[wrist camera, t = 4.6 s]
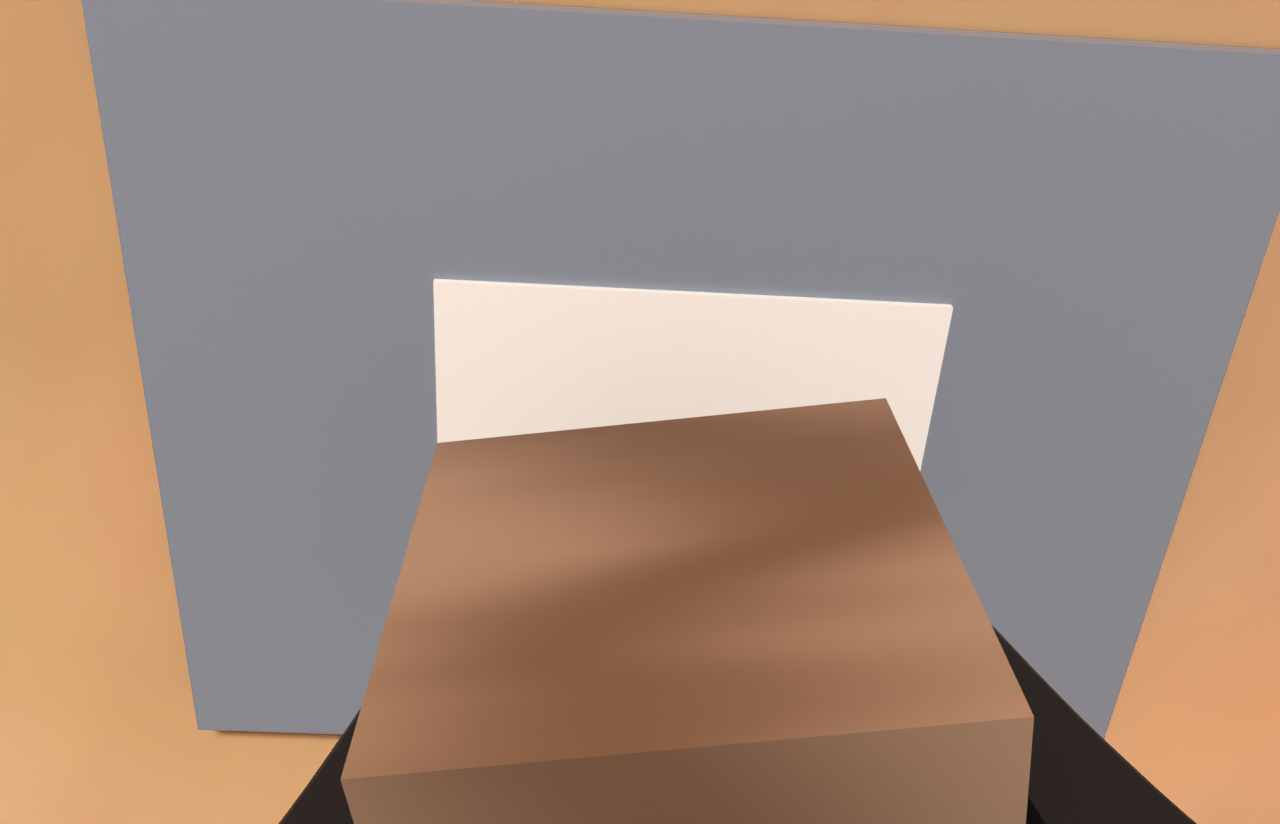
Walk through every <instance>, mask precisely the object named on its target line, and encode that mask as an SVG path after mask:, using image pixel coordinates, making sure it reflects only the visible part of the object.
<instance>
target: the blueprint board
mask: <svg viewBox="0 0 1280 824" xmlns="http://www.w3.org/2000/svg"><path fill="white" fill-rule="evenodd" d="M82 6H83V13H84V19H85V25H86V31H87V38H88V44H89V50H90V56H91V63H92V69H93V75H94V81H95V88H96V94H97V100H98V106H99V113H100V119H101V125H102V131H103V138H104V144H105V150H106V156H107V163H108V169H109V175H110V181H111V188H112V194H113V200H114V206H115V213H116V219H117V225H118V231H119V238H120V244H121V250H122V256H123V263H124V269H125V275H126V281H127V288H128V294H129V300H130V306H131V313H132V319H133V325H134V331H135V338H136V344H137V350H138V356H139V363H140V369H141V375H142V381H143V388H144V394H145V400H146V406H147V413H148V419H149V425H150V431H151V438H152V444H153V450H154V456H155V463H156V469H157V475H158V481H159V488H160V494H161V500H162V506H163V513H164V519H165V525H166V531H167V538H168V544H169V550H170V556H171V563H172V569H173V575H174V581H175V588H176V594H177V600H178V606H179V613H180V619H181V625H182V631H183V638H184V644H185V650H186V656H187V663H188V669H189V675H190V681H191V688H192V694H193V700H194V706H195V713H196V719H197V725H198V730H223V731H254V732H284V733H315V734H343V733H344V732H345V730H346V729H347V727H348V726H349V724H350V723H351V721H352V720H353V719H354V717H355V716H356V714H357V713H358V711H359V710H360V708H361V706H362V703H363V699H364V696H365V692H366V689H367V685H368V682H369V678H370V675H371V671H372V668H373V665H374V661H375V658H376V654H377V651H378V647H379V644H380V640H381V637H382V633H383V630H384V626H385V623H386V619H387V616H388V612H389V609H390V605H391V602H392V598H393V595H394V591H395V588H396V584H397V581H398V578H399V574H400V571H401V567H402V564H403V560H404V557H405V553H406V550H407V546H408V543H409V539H410V536H411V532H412V529H413V525H414V522H415V518H416V515H417V511H418V508H419V504H420V501H421V498H422V494H423V491H424V487H425V484H426V480H427V477H428V473H429V470H430V466H431V463H432V459H433V456H434V452H435V449H436V445H437V443H442V442H452V441H462V440H472V439H482V438H492V437H502V436H512V435H522V434H532V433H542V432H552V431H562V430H572V429H582V428H592V427H602V426H612V425H622V424H632V423H642V422H652V421H662V420H672V419H682V418H692V417H702V416H712V415H722V414H732V413H742V412H752V411H762V410H772V409H782V408H792V407H802V406H812V405H822V404H832V403H842V402H852V401H862V400H872V399H882V398H886V399H887V402H888V404H889V406H890V408H891V410H892V412H893V414H894V417H895V419H896V421H897V423H898V425H899V427H900V430H901V432H902V434H903V436H904V438H905V440H906V442H907V445H908V447H909V449H910V451H911V453H912V455H913V457H914V460H915V462H916V464H917V466H918V468H919V470H920V472H921V475H922V477H923V479H924V481H925V483H926V485H927V488H928V490H929V492H930V494H931V496H932V498H933V500H934V503H935V505H936V507H937V509H938V511H939V513H940V515H941V518H942V520H943V522H944V524H945V526H946V528H947V531H948V533H949V535H950V537H951V539H952V541H953V543H954V546H955V548H956V550H957V552H958V554H959V556H960V558H961V561H962V563H963V565H964V567H965V569H966V571H967V574H968V576H969V578H970V580H971V582H972V584H973V586H974V589H975V591H976V593H977V595H978V597H979V599H980V601H981V604H982V606H983V608H984V610H985V612H986V614H987V617H988V619H989V621H990V623H991V625H992V626H993V627H995V628H996V629H997V631H998V632H999V633H1000V634H1001V635H1002V636H1003V637H1004V638H1005V639H1006V640H1007V641H1008V642H1009V643H1010V644H1011V645H1012V647H1013V648H1014V649H1015V650H1016V651H1017V652H1018V653H1019V654H1020V655H1021V656H1022V657H1023V658H1024V659H1025V660H1026V661H1027V662H1028V663H1029V665H1030V666H1031V667H1032V668H1033V669H1034V670H1035V671H1036V672H1037V673H1038V674H1039V675H1040V676H1041V677H1042V678H1043V679H1044V680H1045V681H1046V682H1047V683H1048V684H1049V685H1050V686H1051V687H1052V688H1053V689H1054V690H1055V691H1056V692H1057V693H1058V694H1059V695H1060V696H1061V698H1062V699H1063V700H1064V701H1065V702H1066V703H1067V704H1068V705H1069V706H1070V707H1071V708H1072V709H1073V710H1074V711H1075V712H1076V713H1077V714H1078V715H1079V716H1080V717H1081V718H1082V719H1083V720H1084V721H1085V722H1086V723H1087V724H1089V725H1090V726H1091V727H1092V728H1093V729H1094V730H1095V731H1096V732H1097V733H1098V734H1099V735H1100V736H1101V737H1102V738H1103V739H1104V737H1105V734H1106V731H1107V728H1108V725H1109V722H1110V719H1111V716H1112V713H1113V710H1114V707H1115V704H1116V701H1117V698H1118V695H1119V692H1120V689H1121V686H1122V683H1123V680H1124V677H1125V674H1126V671H1127V668H1128V665H1129V662H1130V659H1131V656H1132V653H1133V650H1134V647H1135V644H1136V641H1137V638H1138V635H1139V632H1140V629H1141V626H1142V623H1143V620H1144V617H1145V614H1146V611H1147V608H1148V605H1149V602H1150V599H1151V596H1152V593H1153V590H1154V587H1155V584H1156V581H1157V578H1158V575H1159V572H1160V568H1161V565H1162V562H1163V559H1164V556H1165V553H1166V550H1167V547H1168V544H1169V541H1170V538H1171V535H1172V532H1173V529H1174V526H1175V523H1176V520H1177V517H1178V514H1179V511H1180V508H1181V505H1182V502H1183V499H1184V496H1185V493H1186V490H1187V487H1188V484H1189V481H1190V478H1191V475H1192V472H1193V469H1194V466H1195V463H1196V460H1197V457H1198V454H1199V451H1200V448H1201V445H1202V442H1203V439H1204V436H1205V433H1206V430H1207V427H1208V424H1209V421H1210V418H1211V415H1212V412H1213V409H1214V406H1215V403H1216V400H1217V397H1218V394H1219V391H1220V388H1221V385H1222V382H1223V379H1224V376H1225V373H1226V370H1227V367H1228V364H1229V361H1230V358H1231V355H1232V352H1233V349H1234V346H1235V343H1236V340H1237V337H1238V334H1239V331H1240V328H1241V325H1242V322H1243V319H1244V316H1245V313H1246V310H1247V307H1248V304H1249V301H1250V298H1251V295H1252V292H1253V289H1254V286H1255V283H1256V280H1257V276H1258V273H1259V270H1260V267H1261V264H1262V261H1263V258H1264V255H1265V252H1266V249H1267V246H1268V243H1269V240H1270V237H1271V234H1272V231H1273V228H1274V225H1275V222H1276V219H1277V216H1278V213H1279V210H1280V49H1272V48H1255V47H1239V46H1222V45H1205V44H1189V43H1172V42H1156V41H1139V40H1123V39H1106V38H1090V37H1073V36H1057V35H1040V34H1023V33H1007V32H990V31H974V30H957V29H941V28H924V27H908V26H891V25H875V24H858V23H841V22H825V21H808V20H792V19H775V18H759V17H742V16H726V15H709V14H693V13H676V12H659V11H643V10H626V9H610V8H593V7H577V6H560V5H544V4H527V3H511V2H494V1H477V0H82Z"/></svg>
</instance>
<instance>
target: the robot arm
mask: <svg viewBox="0 0 1280 824" xmlns="http://www.w3.org/2000/svg"><path fill="white" fill-rule="evenodd" d="M992 627H993V626H992ZM993 629H994V632H995V634H996V636H997V638H998V640H999V642H1000V644H1001V647H1002V649H1003V651H1004V653H1005V655H1006V657H1007V659H1008V662H1009V664H1010V666H1011V668H1012V670H1013V672H1014V675H1015V677H1016V679H1017V681H1018V683H1019V685H1020V687H1021V690H1022V692H1023V694H1024V696H1025V698H1026V700H1027V702H1028V705H1029V707H1030V709H1031V711H1032V713H1033V715H1034V725H1033V738H1032V751H1031V764H1030V777H1029V790H1028V803H1027V816H1026V824H1196V823H1195V822H1194V821H1193V820H1192V819H1190V818H1189V817H1188V816H1187V815H1186V814H1185V813H1184V812H1182V811H1181V810H1180V809H1179V808H1178V807H1177V806H1176V805H1175V804H1173V803H1172V802H1171V801H1170V800H1169V799H1168V798H1167V797H1166V796H1164V795H1163V794H1162V793H1161V792H1160V791H1159V790H1158V789H1157V788H1155V787H1154V786H1153V785H1152V784H1151V783H1150V782H1149V781H1148V780H1147V779H1146V778H1145V777H1144V776H1142V775H1141V774H1140V773H1139V772H1138V771H1137V770H1136V769H1135V768H1134V767H1133V766H1132V765H1131V764H1130V763H1129V762H1127V761H1126V760H1125V759H1124V758H1123V757H1122V756H1121V755H1120V754H1119V753H1118V752H1117V751H1116V750H1115V749H1114V748H1113V747H1111V746H1110V745H1109V744H1108V743H1107V742H1106V741H1105V740H1104V739H1103V738H1102V737H1101V736H1100V735H1099V734H1098V733H1097V732H1096V731H1095V730H1094V729H1093V728H1092V727H1091V726H1090V725H1089V724H1087V723H1086V722H1085V721H1084V720H1083V719H1082V718H1081V717H1080V716H1079V715H1078V714H1077V713H1076V712H1075V711H1074V710H1073V709H1072V708H1071V707H1070V706H1069V705H1068V704H1067V703H1066V702H1065V701H1064V700H1063V699H1062V698H1061V696H1060V695H1059V694H1058V693H1057V692H1056V691H1055V690H1054V689H1053V688H1052V687H1051V686H1050V685H1049V684H1048V683H1047V682H1046V681H1045V680H1044V679H1043V678H1042V677H1041V676H1040V675H1039V674H1038V673H1037V672H1036V671H1035V670H1034V669H1033V668H1032V667H1031V666H1030V665H1029V663H1028V662H1027V661H1026V660H1025V659H1024V658H1023V657H1022V656H1021V655H1020V654H1019V653H1018V652H1017V651H1016V650H1015V649H1014V648H1013V647H1012V645H1011V644H1010V643H1009V642H1008V641H1007V640H1006V639H1005V638H1004V637H1003V636H1002V635H1001V634H1000V633H999V632H998V631H997V629H996V628H995V627H993ZM360 710H361V708H360ZM360 710H359V711H358V713H357V714H356V716H355V717H354V719H353V720H352V721H351V723H350V724H349V726H348V727H347V729H346V730H345V732H344V733H343V735H342V736H341V738H340V739H339V741H338V742H337V743H336V745H335V746H334V748H333V749H332V751H331V752H330V754H329V755H328V756H327V758H326V759H325V761H324V762H323V764H322V765H321V766H320V768H319V769H318V771H317V772H316V774H315V775H314V776H313V778H312V779H311V781H310V782H309V784H308V785H307V786H306V788H305V789H304V790H303V792H302V793H301V795H300V796H299V797H298V799H297V800H296V801H295V803H294V804H293V805H292V807H291V808H290V809H289V811H288V812H287V813H286V815H285V816H284V818H283V819H282V820H281V822H280V823H279V824H354V822H353V819H352V816H351V812H350V809H349V806H348V803H347V799H346V796H345V793H344V790H343V786H342V783H341V780H340V779H341V776H342V772H343V769H344V765H345V762H346V758H347V755H348V751H349V748H350V745H351V741H352V738H353V734H354V731H355V727H356V724H357V720H358V717H359V713H360Z"/></svg>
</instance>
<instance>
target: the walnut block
mask: <svg viewBox="0 0 1280 824" xmlns="http://www.w3.org/2000/svg"><path fill="white" fill-rule="evenodd" d="M1033 725H1034V715H1033V713H1032V711H1031V709H1030V707H1029V705H1028V702H1027V700H1026V698H1025V696H1024V694H1023V692H1022V690H1021V687H1020V685H1019V683H1018V681H1017V679H1016V677H1015V675H1014V672H1013V670H1012V668H1011V666H1010V664H1009V662H1008V659H1007V657H1006V655H1005V653H1004V651H1003V649H1002V647H1001V644H1000V642H999V640H998V638H997V636H996V634H995V632H994V629H993V627H992V625H991V623H990V621H989V619H988V617H987V614H986V612H985V610H984V608H983V606H982V604H981V601H980V599H979V597H978V595H977V593H976V591H975V589H974V586H973V584H972V582H971V580H970V578H969V576H968V574H967V571H966V569H965V567H964V565H963V563H962V561H961V558H960V556H959V554H958V552H957V550H956V548H955V546H954V543H953V541H952V539H951V537H950V535H949V533H948V531H947V528H946V526H945V524H944V522H943V520H942V518H941V515H940V513H939V511H938V509H937V507H936V505H935V503H934V500H933V498H932V496H931V494H930V492H929V490H928V488H927V485H926V483H925V481H924V479H923V477H922V475H921V472H920V470H919V468H918V466H917V464H916V462H915V460H914V457H913V455H912V453H911V451H910V449H909V447H908V445H907V442H906V440H905V438H904V436H903V434H902V432H901V430H900V427H899V425H898V423H897V421H896V419H895V417H894V414H893V412H892V410H891V408H890V406H889V404H888V402H887V399H886V398H882V399H872V400H862V401H852V402H842V403H832V404H822V405H812V406H802V407H792V408H782V409H772V410H762V411H752V412H742V413H732V414H722V415H712V416H702V417H692V418H682V419H672V420H662V421H652V422H642V423H632V424H622V425H612V426H602V427H592V428H582V429H572V430H562V431H552V432H542V433H532V434H522V435H512V436H502V437H492V438H482V439H472V440H462V441H452V442H442V443H437V445H436V449H435V452H434V456H433V459H432V463H431V466H430V470H429V473H428V477H427V480H426V484H425V487H424V491H423V494H422V498H421V501H420V504H419V508H418V511H417V515H416V518H415V522H414V525H413V529H412V532H411V536H410V539H409V543H408V546H407V550H406V553H405V557H404V560H403V564H402V567H401V571H400V574H399V578H398V581H397V584H396V588H395V591H394V595H393V598H392V602H391V605H390V609H389V612H388V616H387V619H386V623H385V626H384V630H383V633H382V637H381V640H380V644H379V647H378V651H377V654H376V658H375V661H374V665H373V668H372V671H371V675H370V678H369V682H368V685H367V689H366V692H365V696H364V699H363V703H362V706H361V710H360V713H359V717H358V720H357V724H356V727H355V731H354V734H353V738H352V741H351V745H350V748H349V751H348V755H347V758H346V762H345V765H344V769H343V772H342V776H341V779H340V780H341V783H342V786H343V790H344V793H345V796H346V799H347V803H348V806H349V809H350V812H351V816H352V819H353V822H354V824H1026V816H1027V803H1028V790H1029V777H1030V764H1031V751H1032V738H1033Z"/></svg>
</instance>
